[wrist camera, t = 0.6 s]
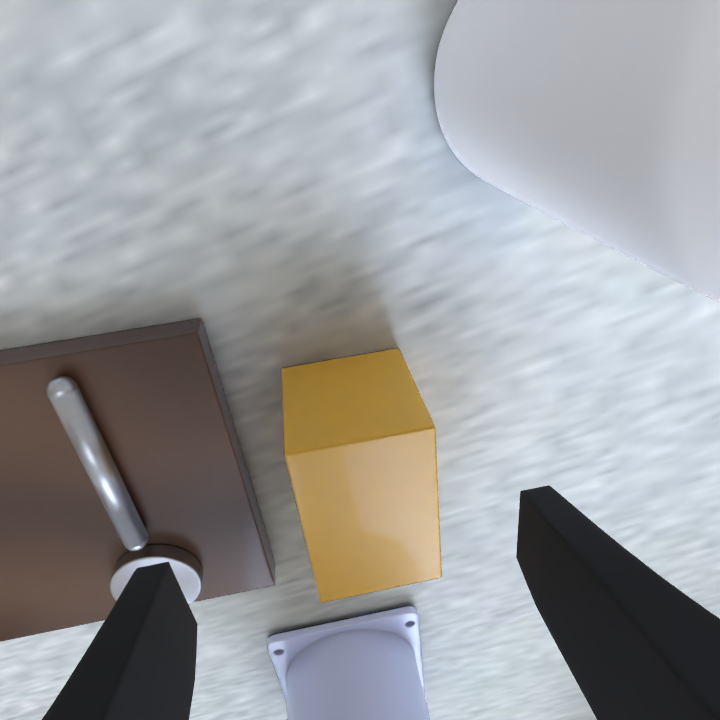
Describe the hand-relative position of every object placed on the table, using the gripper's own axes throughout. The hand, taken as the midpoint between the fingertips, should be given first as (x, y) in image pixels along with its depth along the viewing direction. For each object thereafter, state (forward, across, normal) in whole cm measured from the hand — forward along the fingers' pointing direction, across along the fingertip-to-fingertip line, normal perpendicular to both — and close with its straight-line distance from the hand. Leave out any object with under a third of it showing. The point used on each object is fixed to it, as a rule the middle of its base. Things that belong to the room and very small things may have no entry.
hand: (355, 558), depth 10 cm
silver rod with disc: (+8, +8, +6) cm, 13 cm away
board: (+10, +14, +5) cm, 17 cm away
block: (+10, -1, +4) cm, 11 cm away
